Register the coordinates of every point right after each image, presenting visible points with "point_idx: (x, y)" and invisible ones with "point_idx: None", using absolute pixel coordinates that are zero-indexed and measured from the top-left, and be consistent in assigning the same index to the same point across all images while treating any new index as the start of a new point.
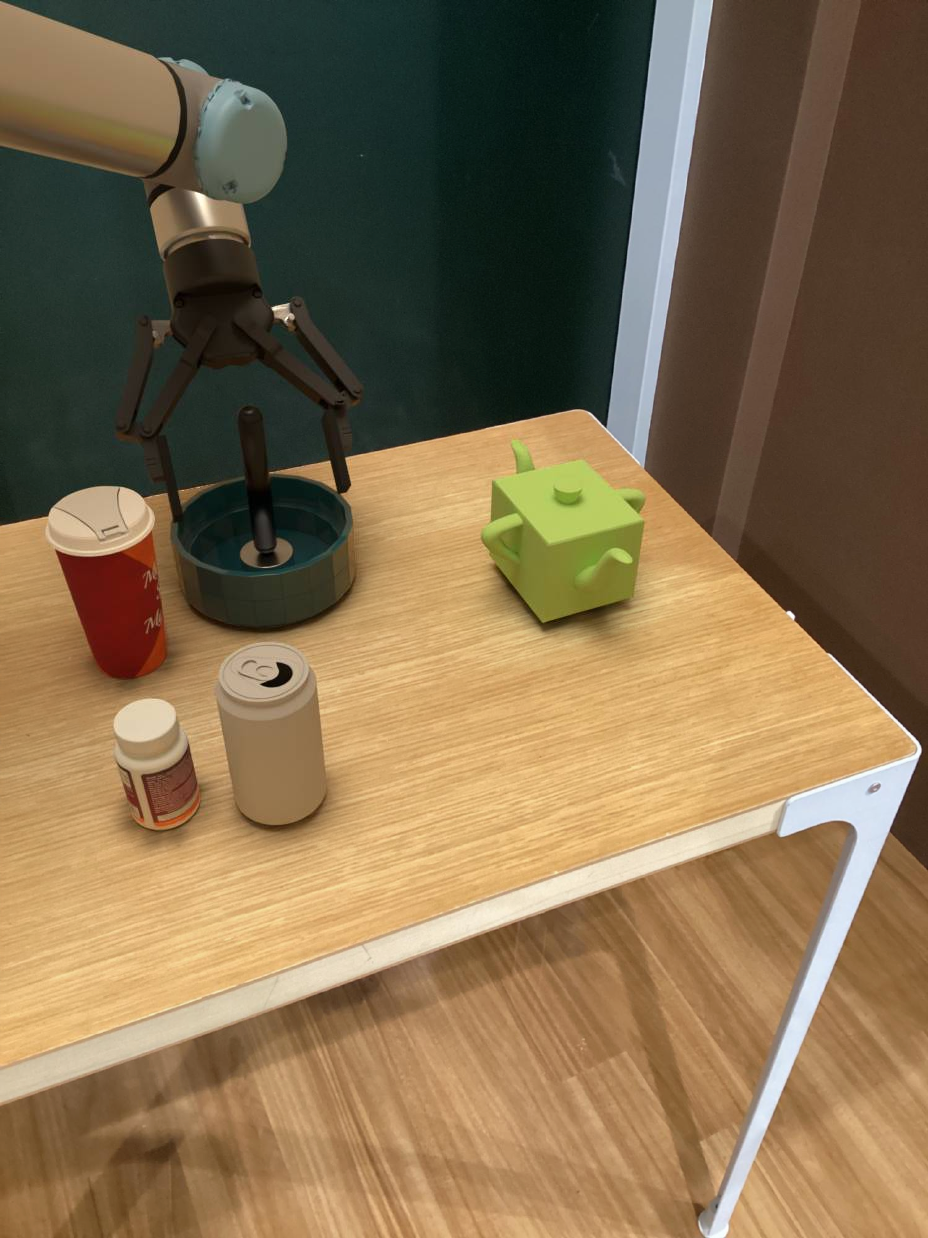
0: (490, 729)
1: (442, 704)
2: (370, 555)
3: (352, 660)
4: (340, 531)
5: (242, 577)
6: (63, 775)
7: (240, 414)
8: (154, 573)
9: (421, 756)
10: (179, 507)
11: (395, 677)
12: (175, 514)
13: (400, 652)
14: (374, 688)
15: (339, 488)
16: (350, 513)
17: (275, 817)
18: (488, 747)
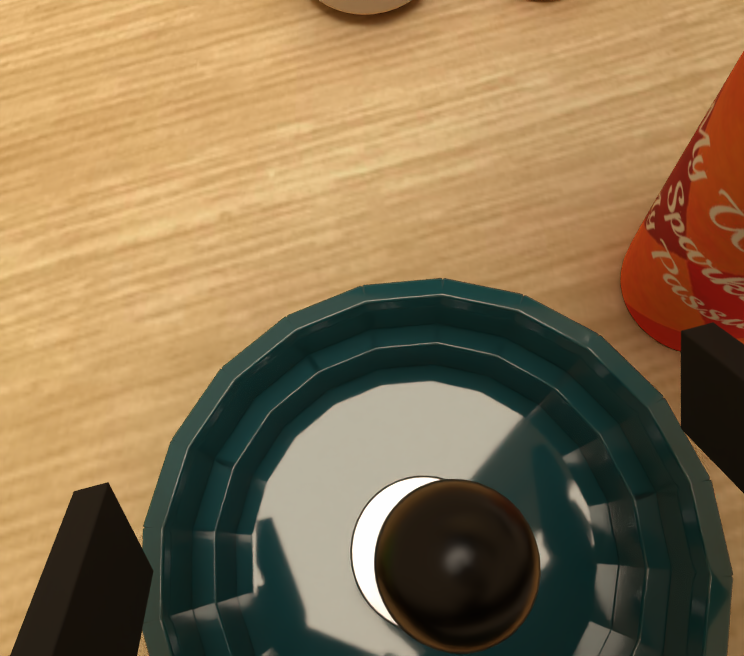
0: (26, 79)
1: (91, 134)
2: None
3: (239, 250)
4: (207, 615)
5: (463, 282)
6: (721, 17)
7: (513, 520)
8: (697, 147)
9: (149, 33)
10: (703, 338)
11: (163, 201)
12: (708, 326)
13: (142, 267)
14: (205, 176)
15: (131, 537)
16: None
17: None
18: (40, 45)
